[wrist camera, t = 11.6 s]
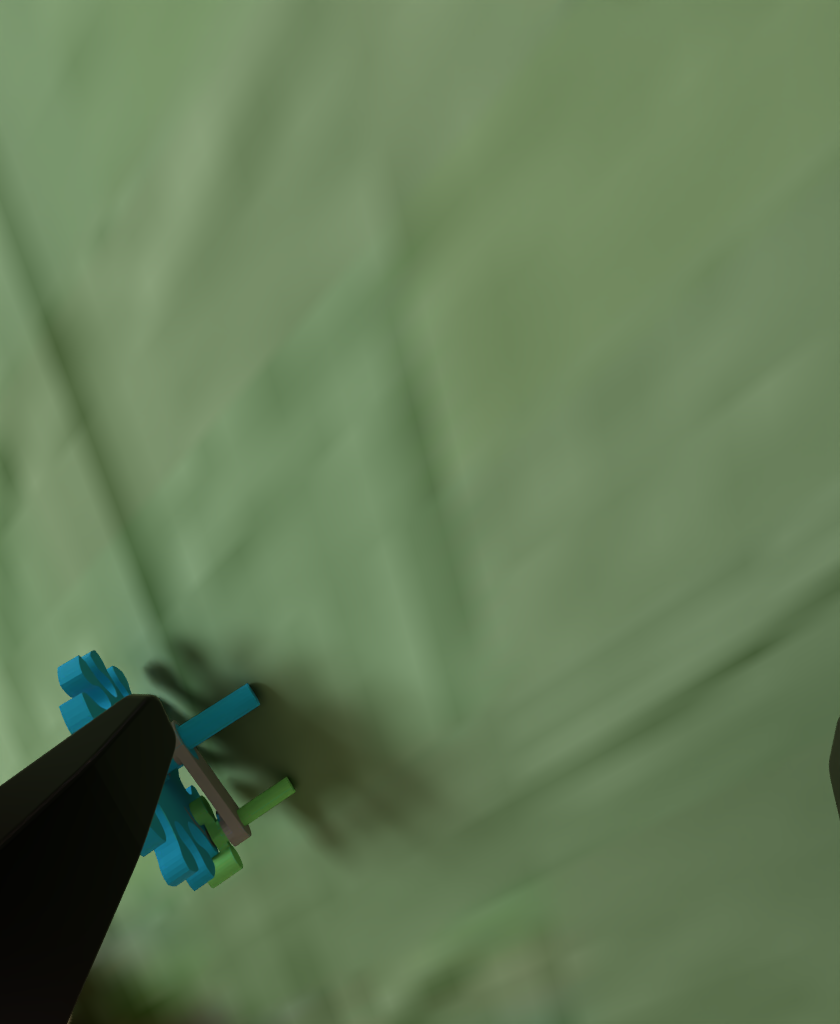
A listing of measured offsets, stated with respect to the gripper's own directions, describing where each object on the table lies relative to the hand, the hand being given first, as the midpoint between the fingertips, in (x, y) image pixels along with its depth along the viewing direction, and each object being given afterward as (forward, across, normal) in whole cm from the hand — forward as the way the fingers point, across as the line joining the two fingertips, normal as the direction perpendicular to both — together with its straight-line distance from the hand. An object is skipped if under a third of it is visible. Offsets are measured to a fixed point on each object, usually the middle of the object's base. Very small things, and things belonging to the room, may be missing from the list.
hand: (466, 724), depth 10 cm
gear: (+13, +14, +15) cm, 25 cm away
